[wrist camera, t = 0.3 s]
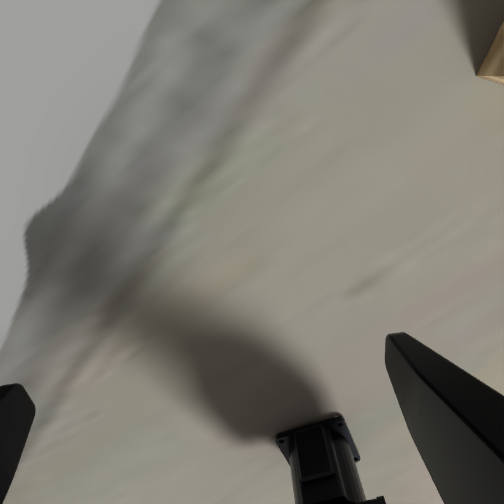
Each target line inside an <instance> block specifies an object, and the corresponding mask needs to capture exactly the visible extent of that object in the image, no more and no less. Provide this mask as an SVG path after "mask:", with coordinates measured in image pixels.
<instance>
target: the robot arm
mask: <svg viewBox="0 0 504 504" xmlns="http://www.w3.org/2000/svg"><path fill="white" fill-rule="evenodd" d="M385 365H386V369H387V372H388V375H389V378H390V380H391V383H392V386H393V389H394V391H395V394H396V397H397V400H398V402H399V405H400V408H401V411H402V413H403V416H404V419H405V421H406V424H407V427H408V429H409V432H410V434H411V436H412V438H413V441H414V443H415V445H416V447H417V449H418V451H419V453H420V455H421V457H422V459H423V461H424V463H425V465H426V467H427V469H428V471H429V474H430V476H431V478H432V480H433V482H434V484H435V486H436V488H437V490H438V492H439V494H440V496H441V498H442V500H443V502H444V504H504V396H503V395H502V394H500V393H499V392H497V391H496V390H494V389H492V388H491V387H489V386H488V385H486V384H485V383H483V382H482V381H480V380H478V379H477V378H475V377H474V376H472V375H471V374H469V373H468V372H466V371H464V370H463V369H461V368H460V367H458V366H457V365H455V364H454V363H452V362H450V361H449V360H447V359H446V358H444V357H443V356H441V355H440V354H438V353H436V352H435V351H433V350H432V349H430V348H429V347H427V346H426V345H424V344H422V343H421V342H419V341H418V340H416V339H415V338H413V337H412V336H410V335H408V334H407V333H404V332H400V333H392V334H388V335H387V336H386V342H385ZM35 411H36V410H35V405H34V403H33V401H32V400H31V398H30V397H29V395H28V393H27V392H26V390H25V389H24V387H23V386H22V385H21V384H18V383H15V384H7V385H2V386H0V504H3V501H4V499H5V497H6V495H7V492H8V490H9V487H10V485H11V483H12V480H13V478H14V475H15V472H16V469H17V466H18V464H19V461H20V458H21V455H22V452H23V449H24V446H25V443H26V440H27V437H28V434H29V431H30V428H31V425H32V423H33V420H34V417H35ZM276 443H277V445H278V447H279V448H280V450H281V452H282V453H283V455H284V457H285V458H286V460H287V462H288V463H289V465H290V467H291V475H292V482H293V490H294V498H295V504H386V502H385V499H384V496H379V497H377V499H372V500H367V501H366V498H365V494H364V491H363V488H362V484H361V481H360V478H359V474H358V471H357V468H356V464H355V462H358V461H359V460H360V455H359V453H358V450H357V448H356V446H355V443H354V441H353V438H352V436H351V434H350V431H349V429H348V427H347V424H346V422H345V420H344V418H342V417H337V418H334V419H330V420H327V421H323V422H320V423H316V424H313V425H309V426H306V427H302V428H299V429H295V430H292V431H288V432H285V433H281V434H278V435H277V436H276Z"/></svg>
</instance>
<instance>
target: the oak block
mask: <svg viewBox="0 0 504 504" xmlns="http://www.w3.org/2000/svg"><path fill="white" fill-rule="evenodd" d="M476 76H478V77H481V78H484V79H487V80H490V81H493V82H496V83H499V84H502V85H504V21H503V23H502V25H501V27H500V29H499V31H498V33H497V35H496V37H495V39H494V41H493V43H492V45H491V47H490V49H489V51H488V53H487V55H486V57H485V59H484V61H483V63H482V65H481V67H480V69H479V71H478V73H477V75H476Z"/></svg>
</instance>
